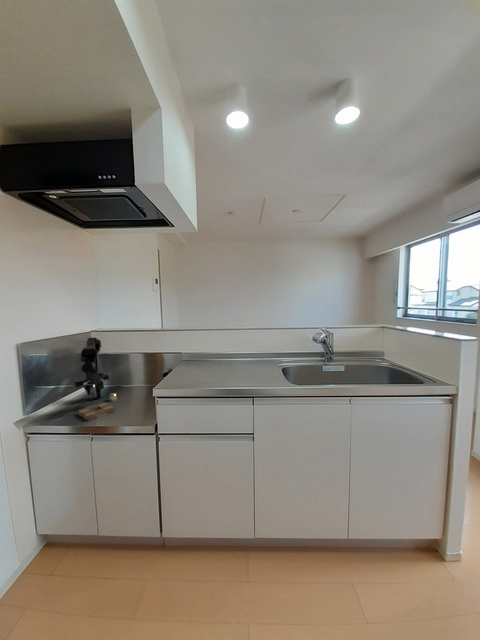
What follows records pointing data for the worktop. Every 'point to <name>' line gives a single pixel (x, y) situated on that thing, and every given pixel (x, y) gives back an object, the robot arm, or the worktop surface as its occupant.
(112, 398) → the short pin
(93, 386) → the tall pin
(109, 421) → the worktop surface
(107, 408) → the hole plate
